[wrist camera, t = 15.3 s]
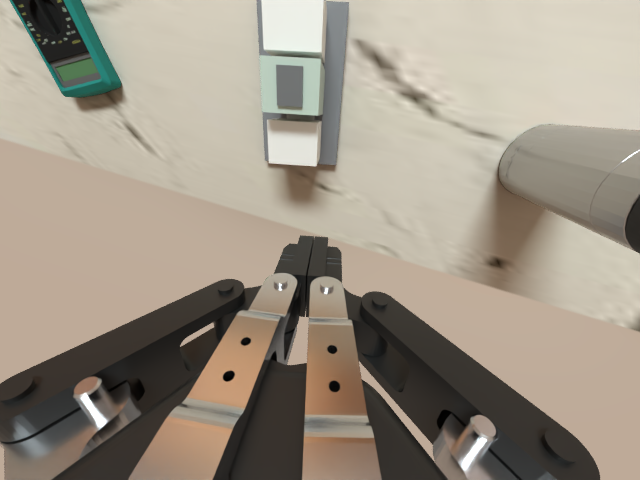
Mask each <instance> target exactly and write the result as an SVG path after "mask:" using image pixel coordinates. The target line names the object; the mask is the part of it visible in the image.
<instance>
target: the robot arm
mask: <svg viewBox="0 0 640 480" xmlns="http://www.w3.org/2000/svg"><path fill="white" fill-rule="evenodd" d="M499 177H500V181H501V183H502V185H503V186H504V187H505V188H506V189H507V190H509V191H510V192H512V193H514V194H516V195H518V196H520V197H522V198H525V199H527V200H529V201H530V202H533V203H535V204H537V205H539V206H541V207H543V208H545V209H547V210H549V211H551V212H554V213H556V214H558V215H560V216H562V217H564V218H566V219H568V220H570V221H572V222H575V223H577V224H579V225H581V226H583V227H585V228H587V229H589V230H591V231H593V232H596V233H598V234H600V235H602V236H604V237H606V238H609V239H611V240H613V241H615V242H617V243H619V244H621V245H623V246H625V247H627V248H630V249H632V250H634V251H636V252H638V253H640V130H626V129H611V128H597V127H582V126H569V125H553V124H548V125H541V126H538V127H535V128H532V129H530V130H528V131H527V132H525V133H523V134H522V135H520V136H519V137H518V138H516V140H515V141H514V142H513V143H512V144H511V145H510V146H509V147H508V149H507V150H506V151H505V153H504V155H503V157H502V159H501V162H500V166H499ZM327 245H328V237H315V238H314V237H313V236H300V238H299V241H298V244H289V245H287V246H286V247H285V248H284V249H283V252H282V255H281V257H280V260H279V262H278V265H277V267H276V270H275V272H274V274H273V275H271V276H269V277H267V278H266V280H265V281H264V283H263V285H261V286H258V287H253V288H245V289H244V285H243V283H242V282H240V281H238V280H235V279H226V280H221V281H218V282H216V283H214V284H212V285H209V286H207V287H205V288H203V289H201V290H199V291H196V292H194V293H192V294H190V295H188V296H185V297H183V298H181V299H179V300H177V301H175V302H172V303H171V304H168V305H166V306H164V307H162V308H159V309H157V310H155V311H153V312H151V313H149V314H146V315H144V316H142V317H140V318H138V319H136V320H133V321H131V322H129V323H127V324H125V325H122V326H120V327H118V328H116V329H114V330H112V331H110V332H107V333H105V334H103V335H101V336H99V337H96V338H95V339H92V340H90V341H88V342H86V343H84V344H81V345H79V346H77V347H75V348H73V349H70V350H68V351H66V352H64V353H62V354H60V355H57V356H55V357H53V358H51V359H49V360H46V361H44V362H42V363H40V364H38V365H36V366H33V367H31V368H29V369H27V370H25V371H23V372H20V373H18V374H16V375H14V376H12V377H10V378H9V379H7V380H5V381H4V382H2V383H1V384H0V446H1V447H2V448H4V457H5V458H4V461H5V462H4V465H5V467H4V468H5V480H600V475H599V470H598V467H597V465H596V463H595V461H594V459H593V458H592V456H591V455H590V453H589V452H588V451H587V449H586V448H585V447H584V446H583V445H582V443H581V442H580V441H579V440H578V439H577V438H576V437H574V436H573V435H572V434H571V433H570V432H569V431H568V430H566V429H565V428H563V427H562V426H561V425H560V424H558V423H557V422H556V421H554V420H553V419H551V418H550V417H549V416H547V415H546V414H545V413H544V412H542V411H541V410H540V409H539V408H537V407H536V406H535V405H533V404H532V403H530V402H529V401H528V400H527V399H525V398H524V397H523V396H521V395H520V394H519V393H517V392H516V391H515V390H513V389H512V388H511V387H509V386H508V385H507V384H506V383H504V382H503V381H502V380H500V379H499V378H498V377H496V376H495V375H493V374H492V373H491V372H490V371H488V370H487V369H486V368H484V367H483V366H482V365H480V364H479V363H478V362H476V361H475V360H474V359H473V358H471V357H470V356H469V355H467V354H466V353H465V352H463V351H462V350H461V349H459V348H458V347H457V346H455V345H454V344H453V343H451V342H450V341H449V340H447V339H446V338H445V337H443V336H442V335H441V334H439V333H438V332H437V331H435V330H434V329H433V328H431V327H430V326H429V325H428V324H426V323H425V322H424V321H422V320H421V319H420V318H418V317H417V316H416V315H414V314H413V313H412V312H410V311H409V310H408V309H406V308H405V307H404V306H403V305H401V304H400V303H399V302H397V301H396V300H394V299H393V298H392V297H391V296H389V295H387V294H385V293H381V292H369V293H366V294H365V295H364V296H363V297H362V298H361V297H359V296H356V295H353V294H351V293H349V292H348V291H347V290H345V288H344V287H343V285H342V265H341V252H340V250H339V249H338V248H337V247H327ZM305 311H306V317H309V328H308V329H309V330H308V352H307V363H304V364H298V365H287V363H288V359H289V356H290V352H291V349H292V345H293V342H294V338H295V335H296V331H297V324H298V321H299V316H303V317H305ZM212 322H213V323H214V328H212V329H210V330H209V331H207V332H205V333H204V334H202V335H200V336H199V337H197V338H196V339H194V340H192V341H190V342H188V343H187V344H185V345H183V346H181V347H180V345H181V343H182V341H183V340H184V339H185V338H186V337H188V336H189V335H191V334H193V333H195V332H196V331H198V330H200V329H202V328H203V327H205V326H207V325H209V324H210V323H212ZM358 360H359V361H360V362H361V364H362V365H363V366H364V367H365V368H366V369H367V370H368V371H369V372H370V374H371V375H372V376H373V377H374V378H375V379H376V381H377V382H378V383H379V384H380V385H381V386H382V387H383V388H384V390H385V391H386V392H387V393H388V394H389V395H390V397H391V398H392V399H393V400H394V401H395V402H396V403H397V404H398V406H399V407H400V408H401V409H402V410H403V411H404V412H405V414H407V416H408V417H409V418H410V419H411V420H412V422H413V423H414V424H415V425H416V426H417V427H418V428H419V429H420V431H421V432H422V433H423V434H424V435H425V436H426V437H427V439H428V440H429V441H430V442H431V443H432V444H433V456H434V460H435V462H434V461H433V460H432V459H431V457H430V456H429V455H428V454H427V452H426V451H425V450H424V449H423V447H422V446H421V445H420V444H419V443H418V441H417V440H416V439H415V437H414V436H413V435H412V434H411V432H410V431H409V430H408V429H407V427H406V426H405V425H404V424H403V422H402V421H401V420H400V419H399V417H398V416H397V415H396V414H395V413H394V411H393V410H392V409H391V407H390V406H389V405H388V404H387V402H386V401H385V400H384V399H383V398H382V396H381V395H380V394H379V393H378V392H377V391H376V390H375V389H374V388H373V387H372V386H370V385H369V384H368V383H366V382H365V381H363V380H362V379H361V373H360V367H359V361H358Z"/></svg>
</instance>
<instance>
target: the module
mask: <svg viewBox="0 0 640 480" xmlns="http://www.w3.org/2000/svg"><path fill="white" fill-rule="evenodd" d="M259 58H260V78H261V99H262V112H269V113H284V114H299V115H315V116H319V115H322V114H323V102H324V84H325V69H324V66H323V64H322V61H321V59H316V58H299V57H282V56H265V55H259Z"/></svg>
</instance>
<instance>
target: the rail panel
mask: <svg viewBox="0 0 640 480" xmlns="http://www.w3.org/2000/svg"><path fill="white" fill-rule="evenodd" d="M348 8H349V2H331V1H326V0H257V15H258V34H259V53H260V55H265V56H282V57H299V58H316V59H321V61H322V64H323V66H324V69H325V84H324V102H323V114H322V115H319V116H315V115H299V114H284V113H269V112H263V129H264V148H265V160H266V161H269V163H273V164H288V165H303V166H317V164H326V165H336V158H337V145H338V133H339V120H340V108H341V95H342V83H343V70H344V58H345V45H346V33H347V20H348Z"/></svg>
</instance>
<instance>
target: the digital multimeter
mask: <svg viewBox="0 0 640 480" xmlns="http://www.w3.org/2000/svg"><path fill="white" fill-rule="evenodd" d="M10 2H11V4H12V5H13V7H14V9H15V11H16V12H17V14H18V16H19V17H20V19H21V21H22V23H23V24H24V26H25V28H26V30H27V31H28V33H29V35H30V37H31V38H32V40H33V42H34V44H35V46H36V47H37V49H38V51H39V53H40V54H41V56H42V58H43V60H44V62H45V63H46V65H47V67H48V69H49V71H50V72H51V74H52V76H53V78H54V80H55V82H56V83H57V85H58V87H59V89H60V91H61V93H62V94H63V95H64V96H65V97H87V96H93V95H98V94H102V93H106V92H109V91H111V90H114V89H117V88H119V87H121V82H120V80H119V78H118V76H117V74H116V72H115V70H114V68H113V66H112V64H111V62H110V60H109V58H108V56H107V54H106V52H105V50H104V48H103V46H102V44H101V42H100V40H99V38H98V36H97V34H96V32H95V30H94V28H93V26H92V24H91V22H90V19H89V17H88V15H87V13H86V11H85V9H84V7H83V5H82V2H81V0H10ZM47 35H48V36H47Z"/></svg>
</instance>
